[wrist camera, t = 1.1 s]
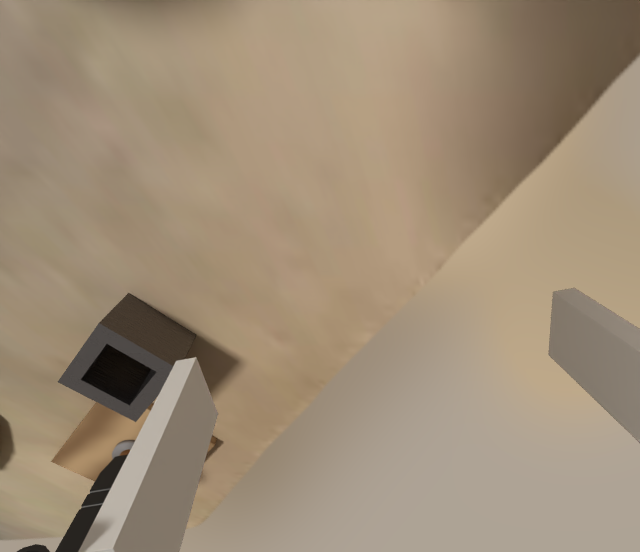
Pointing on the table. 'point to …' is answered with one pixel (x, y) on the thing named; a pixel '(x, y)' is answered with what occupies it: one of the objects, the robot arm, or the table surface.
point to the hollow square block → (128, 358)
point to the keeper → (101, 441)
